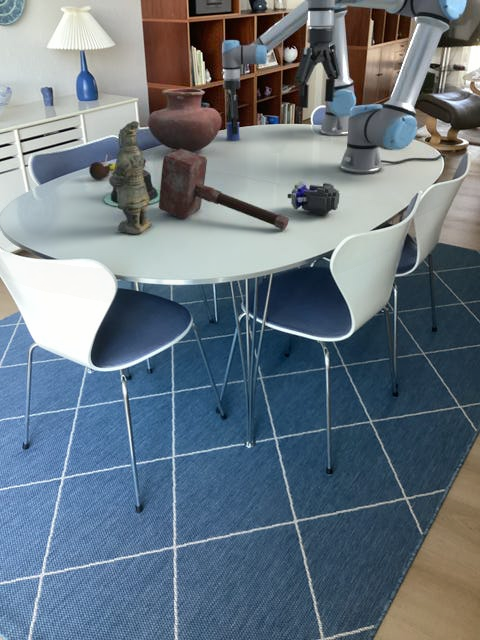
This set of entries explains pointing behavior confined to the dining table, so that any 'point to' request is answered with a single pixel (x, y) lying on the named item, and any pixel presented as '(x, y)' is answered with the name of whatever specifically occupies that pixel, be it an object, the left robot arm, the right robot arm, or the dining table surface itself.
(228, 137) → the can
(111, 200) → the chocolate cake
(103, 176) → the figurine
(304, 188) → the toy
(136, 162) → the statue
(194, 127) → the clay pot
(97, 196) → the dining table surface
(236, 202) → the sledgehammer
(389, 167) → the dining table surface
